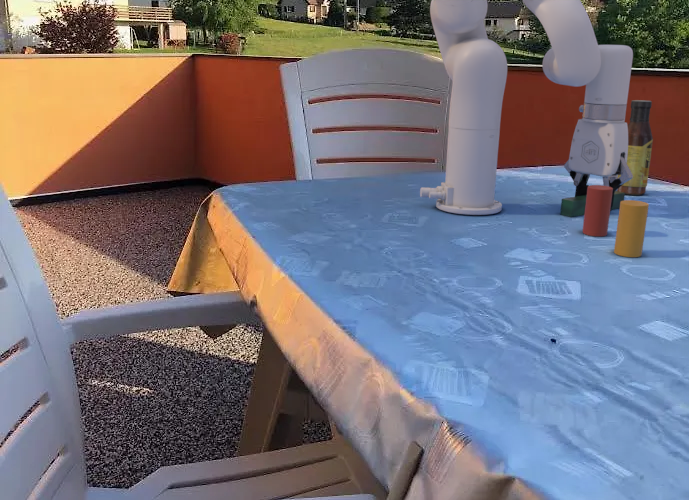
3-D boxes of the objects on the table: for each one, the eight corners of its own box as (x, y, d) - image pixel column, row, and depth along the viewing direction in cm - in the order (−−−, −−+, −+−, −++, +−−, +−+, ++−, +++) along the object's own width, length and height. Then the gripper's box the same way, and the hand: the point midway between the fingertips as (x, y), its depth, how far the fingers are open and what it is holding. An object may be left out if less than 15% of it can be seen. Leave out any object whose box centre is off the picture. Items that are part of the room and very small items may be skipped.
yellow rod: (621, 257, 107) (628, 205, 105) (609, 250, 111) (615, 200, 109) (646, 257, 107) (653, 205, 105) (633, 250, 111) (640, 200, 109)
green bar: (571, 217, 132) (573, 201, 131) (560, 214, 134) (561, 198, 133) (623, 207, 141) (625, 192, 140) (611, 205, 143) (613, 190, 142)
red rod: (588, 236, 118) (593, 189, 116) (578, 230, 122) (583, 184, 120) (611, 236, 119) (617, 189, 117) (600, 230, 123) (606, 185, 120)
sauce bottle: (648, 196, 151) (661, 102, 146) (617, 195, 153) (629, 101, 147) (642, 190, 158) (654, 99, 152) (612, 189, 159) (624, 99, 153)
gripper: (554, 110, 137) (544, 202, 142) (632, 118, 123) (619, 220, 129) (578, 109, 141) (569, 198, 146) (657, 116, 128) (643, 215, 133)
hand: (592, 207), depth 137 cm, fingers open, 4 cm apart
